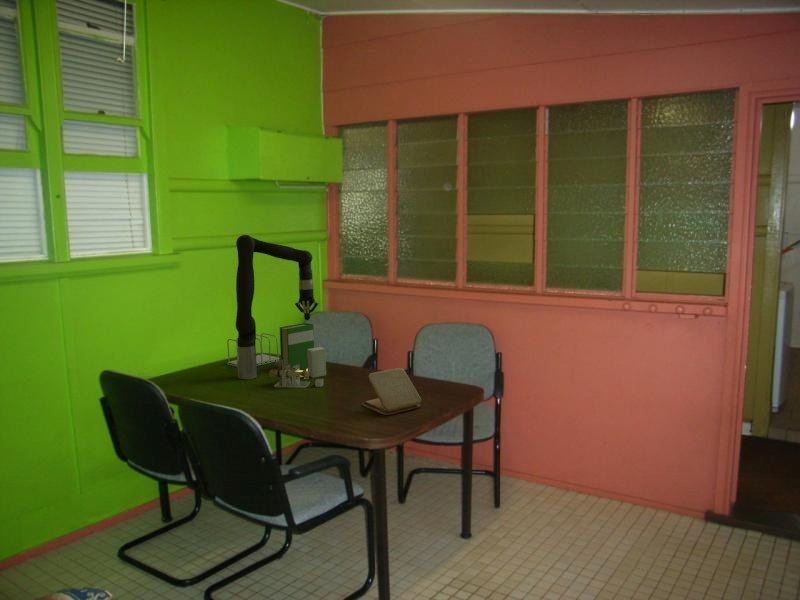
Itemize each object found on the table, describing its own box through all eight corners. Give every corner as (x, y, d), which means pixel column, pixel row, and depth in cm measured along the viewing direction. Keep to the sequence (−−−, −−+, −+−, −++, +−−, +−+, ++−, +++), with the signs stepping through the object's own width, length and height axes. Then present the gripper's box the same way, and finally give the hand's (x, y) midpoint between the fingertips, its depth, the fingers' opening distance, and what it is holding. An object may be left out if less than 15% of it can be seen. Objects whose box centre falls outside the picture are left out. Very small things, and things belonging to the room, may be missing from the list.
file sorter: (263, 357, 393) (261, 331, 391) (280, 361, 381) (279, 335, 379) (226, 364, 375) (225, 338, 372) (244, 369, 363) (243, 342, 361)
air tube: (269, 379, 327) (268, 369, 326) (272, 377, 333) (272, 366, 332) (306, 380, 325) (306, 369, 324) (309, 377, 330) (309, 367, 329)
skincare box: (322, 373, 351) (321, 346, 349) (326, 375, 346) (325, 348, 344) (307, 375, 347) (306, 348, 345) (312, 378, 342) (311, 350, 340)
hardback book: (289, 372, 355) (287, 328, 352) (281, 369, 360) (279, 327, 357) (314, 366, 368) (313, 324, 365) (306, 364, 373) (305, 322, 370)
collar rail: (274, 387, 326) (273, 363, 324) (280, 382, 335) (279, 359, 333) (320, 388, 323) (319, 364, 321) (324, 382, 332) (323, 360, 330)
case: (386, 417, 277) (385, 380, 275) (359, 405, 294) (359, 370, 292) (423, 408, 289) (423, 373, 287) (396, 397, 306) (395, 364, 304)
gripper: (292, 288, 344) (293, 321, 346) (316, 288, 342) (317, 321, 345) (296, 287, 351) (297, 318, 354) (320, 287, 350) (321, 319, 352)
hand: (307, 320), depth 349 cm, fingers closed
